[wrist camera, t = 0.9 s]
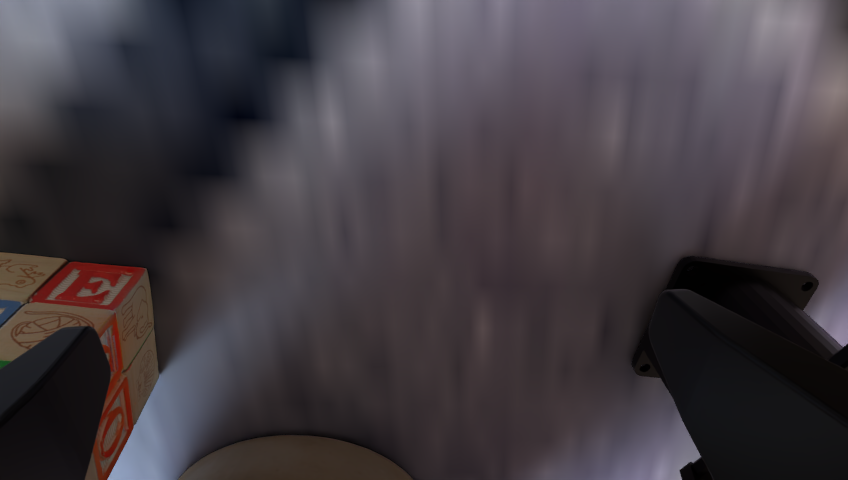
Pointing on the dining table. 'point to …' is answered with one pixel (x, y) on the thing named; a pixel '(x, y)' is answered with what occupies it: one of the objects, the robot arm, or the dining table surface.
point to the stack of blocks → (86, 306)
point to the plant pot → (294, 461)
